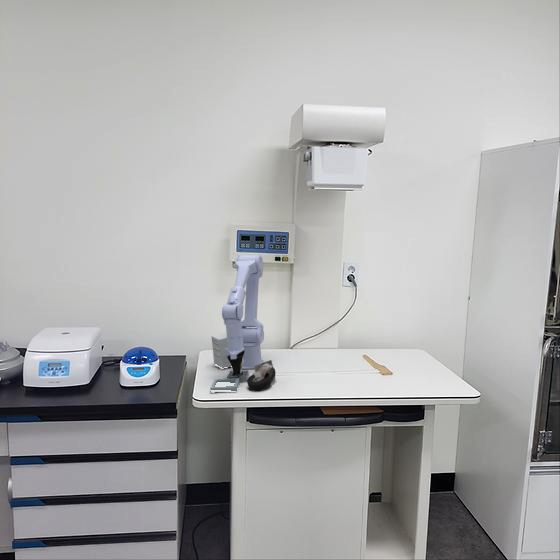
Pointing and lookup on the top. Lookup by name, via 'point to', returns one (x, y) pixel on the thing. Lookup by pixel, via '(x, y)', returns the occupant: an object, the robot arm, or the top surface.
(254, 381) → the caster wheel
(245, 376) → the tensioner block
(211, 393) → the top surface
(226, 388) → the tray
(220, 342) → the grey box
